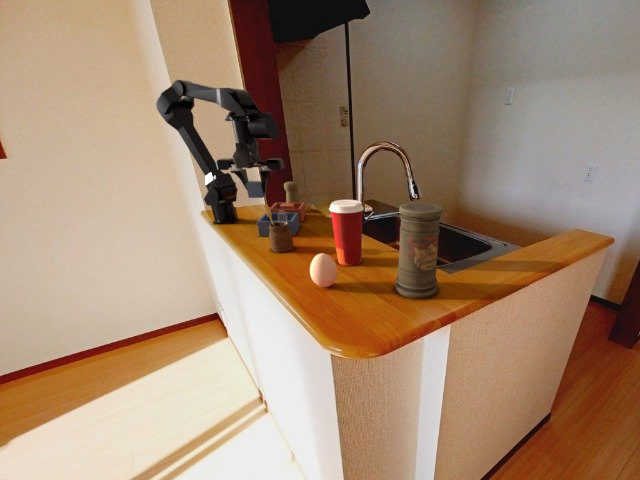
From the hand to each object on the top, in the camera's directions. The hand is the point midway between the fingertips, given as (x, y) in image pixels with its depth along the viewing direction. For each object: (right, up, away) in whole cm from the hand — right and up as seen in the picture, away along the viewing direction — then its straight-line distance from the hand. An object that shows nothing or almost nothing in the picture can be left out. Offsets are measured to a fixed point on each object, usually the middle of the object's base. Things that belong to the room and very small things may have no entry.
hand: (257, 193), depth 102 cm
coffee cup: (+33, -25, -19) cm, 45 cm away
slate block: (0, -1, +1) cm, 1 cm away
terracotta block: (+5, -4, +14) cm, 16 cm away
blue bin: (+7, -12, +2) cm, 14 cm away
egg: (+30, -32, -32) cm, 54 cm away
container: (+50, -32, -32) cm, 68 cm away
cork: (+4, +1, +24) cm, 24 cm away
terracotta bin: (+5, -5, +14) cm, 16 cm away
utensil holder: (+13, -20, -13) cm, 27 cm away
